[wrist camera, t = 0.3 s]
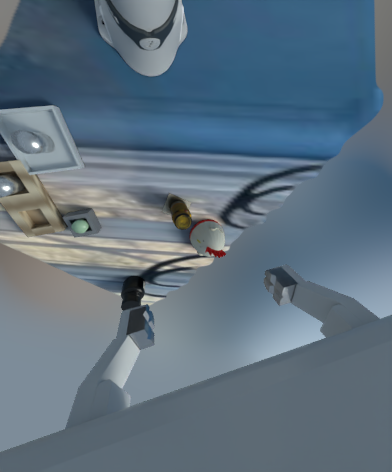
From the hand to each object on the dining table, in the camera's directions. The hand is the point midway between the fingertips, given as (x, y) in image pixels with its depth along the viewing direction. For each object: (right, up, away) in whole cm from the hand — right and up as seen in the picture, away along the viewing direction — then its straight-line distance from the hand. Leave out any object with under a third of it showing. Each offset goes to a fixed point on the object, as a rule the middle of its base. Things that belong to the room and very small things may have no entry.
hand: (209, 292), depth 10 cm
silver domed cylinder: (-49, +18, +32) cm, 61 cm away
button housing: (-37, +9, +41) cm, 56 cm away
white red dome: (+3, +4, +54) cm, 54 cm away
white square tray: (-40, +28, +29) cm, 56 cm away
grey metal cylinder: (-39, +27, +29) cm, 56 cm away
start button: (-37, +8, +39) cm, 54 cm away
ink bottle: (-28, -17, +58) cm, 67 cm away
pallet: (-49, +14, +35) cm, 62 cm away
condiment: (-8, +14, +45) cm, 48 cm away
